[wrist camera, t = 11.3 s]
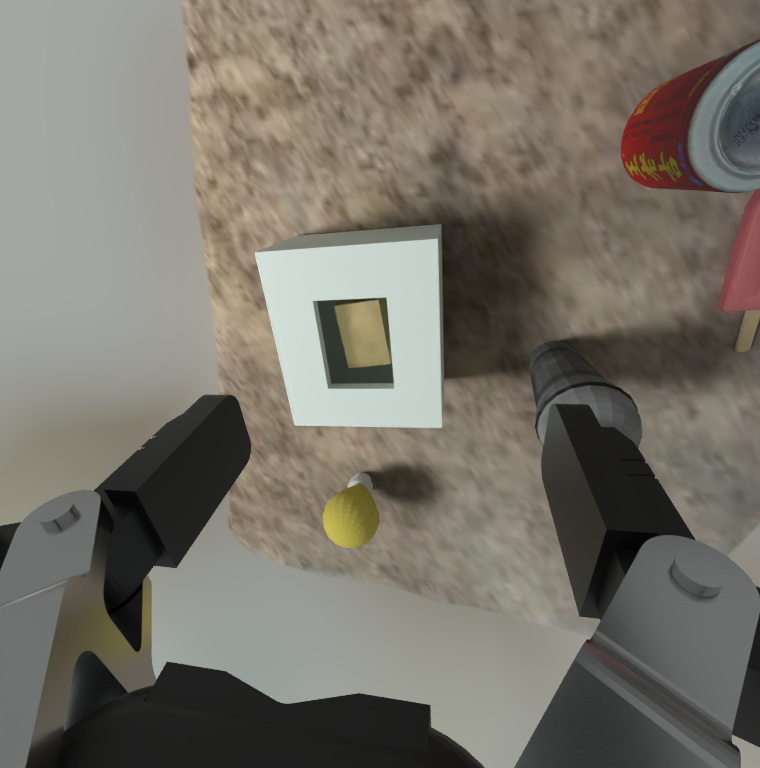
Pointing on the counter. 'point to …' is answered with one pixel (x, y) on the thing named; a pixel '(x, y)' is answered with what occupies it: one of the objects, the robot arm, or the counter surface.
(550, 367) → the beverage cup
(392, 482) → the counter surface
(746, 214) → the popsicle
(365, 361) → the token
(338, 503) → the light bulb
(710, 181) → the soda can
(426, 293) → the box
